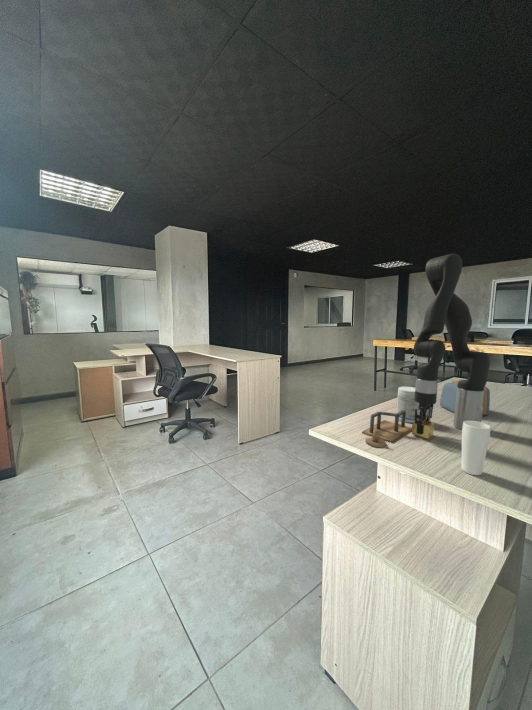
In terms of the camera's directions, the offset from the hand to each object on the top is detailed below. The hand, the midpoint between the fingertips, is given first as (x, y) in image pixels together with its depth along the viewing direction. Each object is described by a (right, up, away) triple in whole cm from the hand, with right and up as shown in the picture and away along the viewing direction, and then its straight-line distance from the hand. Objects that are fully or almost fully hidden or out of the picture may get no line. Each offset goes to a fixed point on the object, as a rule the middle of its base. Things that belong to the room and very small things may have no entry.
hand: (422, 431), depth 113 cm
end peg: (-22, -2, -8) cm, 23 cm away
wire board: (-12, -1, +4) cm, 13 cm away
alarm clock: (+39, +1, +33) cm, 51 cm away
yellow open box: (0, -1, 0) cm, 1 cm away
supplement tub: (+3, 0, +18) cm, 19 cm away
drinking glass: (0, -5, -26) cm, 27 cm away
